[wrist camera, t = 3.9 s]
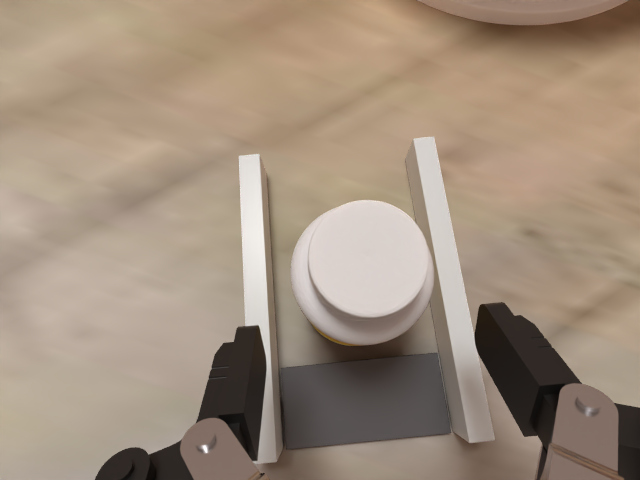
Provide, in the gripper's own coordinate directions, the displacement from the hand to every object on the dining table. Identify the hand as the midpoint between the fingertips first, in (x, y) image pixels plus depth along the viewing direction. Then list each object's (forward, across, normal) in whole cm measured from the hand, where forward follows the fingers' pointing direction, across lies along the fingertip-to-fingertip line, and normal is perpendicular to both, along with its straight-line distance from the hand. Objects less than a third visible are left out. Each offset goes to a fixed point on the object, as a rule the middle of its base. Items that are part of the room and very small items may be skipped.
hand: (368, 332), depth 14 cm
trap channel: (+8, 0, +3) cm, 9 cm away
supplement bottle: (+7, 0, +4) cm, 8 cm away
